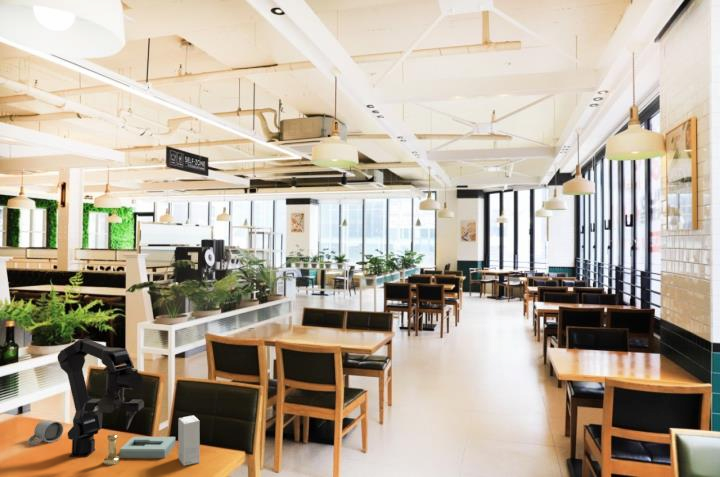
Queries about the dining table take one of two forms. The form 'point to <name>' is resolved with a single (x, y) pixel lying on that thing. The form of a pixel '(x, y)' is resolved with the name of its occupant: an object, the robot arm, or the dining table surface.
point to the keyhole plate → (147, 447)
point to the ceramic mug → (46, 432)
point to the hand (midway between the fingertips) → (113, 429)
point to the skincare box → (188, 440)
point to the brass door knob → (112, 451)
